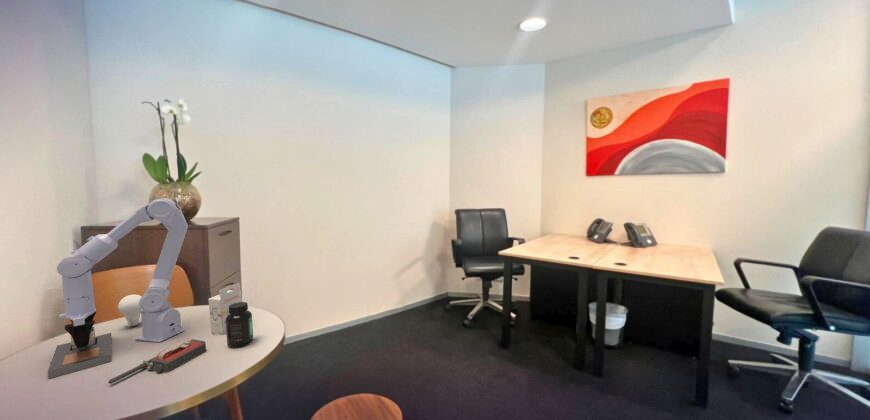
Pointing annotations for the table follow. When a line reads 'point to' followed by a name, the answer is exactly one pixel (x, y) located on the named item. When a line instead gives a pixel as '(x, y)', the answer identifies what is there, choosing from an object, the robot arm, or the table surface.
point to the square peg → (91, 341)
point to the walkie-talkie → (169, 358)
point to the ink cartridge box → (223, 307)
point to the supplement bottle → (239, 325)
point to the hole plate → (80, 356)
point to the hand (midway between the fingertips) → (83, 341)
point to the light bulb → (131, 309)
